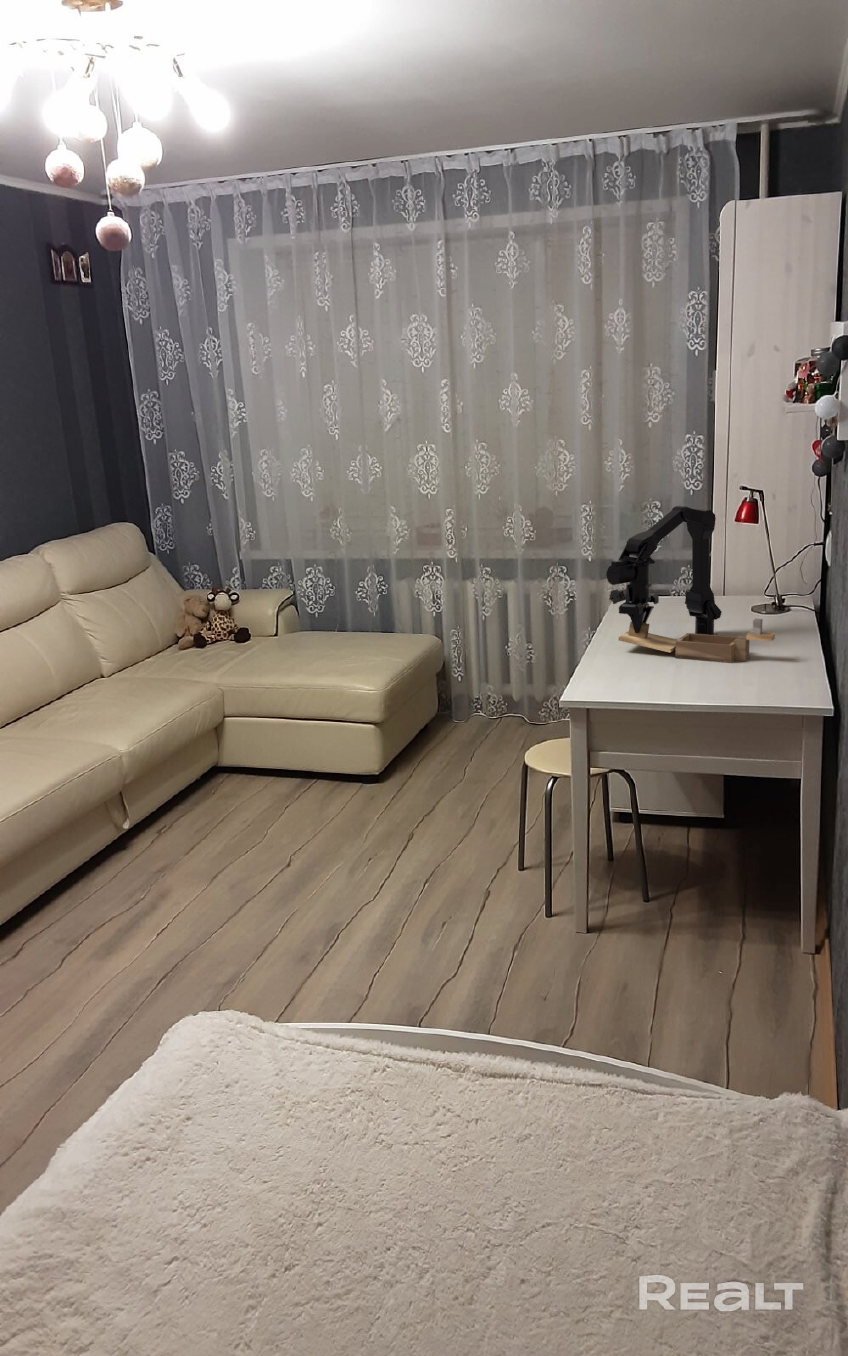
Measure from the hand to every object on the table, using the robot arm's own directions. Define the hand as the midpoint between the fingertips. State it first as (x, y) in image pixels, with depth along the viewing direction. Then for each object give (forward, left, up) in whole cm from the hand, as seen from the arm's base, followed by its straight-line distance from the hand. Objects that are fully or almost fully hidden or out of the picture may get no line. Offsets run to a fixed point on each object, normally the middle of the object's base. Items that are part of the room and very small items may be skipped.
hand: (638, 631), depth 315 cm
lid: (0, +3, -3) cm, 5 cm away
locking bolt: (0, +36, +1) cm, 36 cm away
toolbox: (0, +23, -6) cm, 23 cm away
